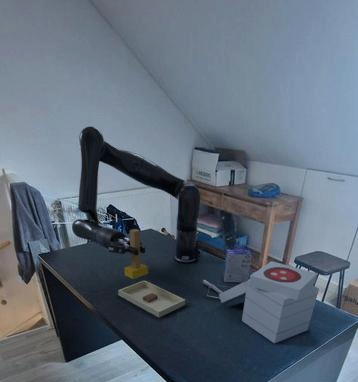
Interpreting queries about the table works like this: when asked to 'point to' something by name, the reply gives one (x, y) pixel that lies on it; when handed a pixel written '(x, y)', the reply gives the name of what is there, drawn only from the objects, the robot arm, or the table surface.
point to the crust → (150, 297)
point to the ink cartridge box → (237, 265)
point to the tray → (156, 307)
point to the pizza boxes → (277, 300)
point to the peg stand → (135, 258)
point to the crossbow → (212, 288)
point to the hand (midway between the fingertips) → (141, 251)
